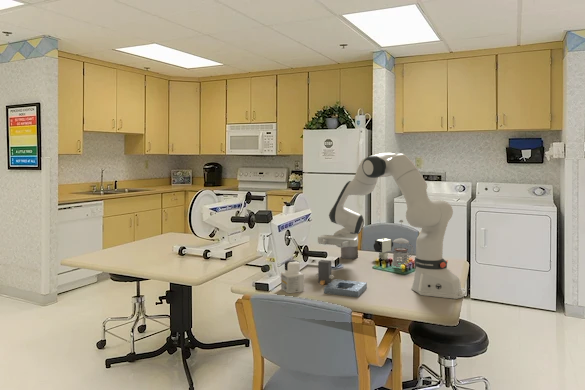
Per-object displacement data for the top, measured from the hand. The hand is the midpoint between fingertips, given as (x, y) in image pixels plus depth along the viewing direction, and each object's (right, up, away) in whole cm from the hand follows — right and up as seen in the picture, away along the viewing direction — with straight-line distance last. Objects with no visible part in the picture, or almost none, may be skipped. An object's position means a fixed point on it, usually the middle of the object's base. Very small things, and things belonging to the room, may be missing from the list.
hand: (333, 243), depth 224 cm
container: (-20, -18, -21) cm, 34 cm away
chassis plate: (+4, -18, -22) cm, 29 cm away
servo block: (-5, -17, -10) cm, 20 cm away
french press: (+38, -14, +17) cm, 44 cm away
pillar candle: (+13, -12, +41) cm, 45 cm away
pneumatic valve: (+31, -13, +36) cm, 49 cm away
